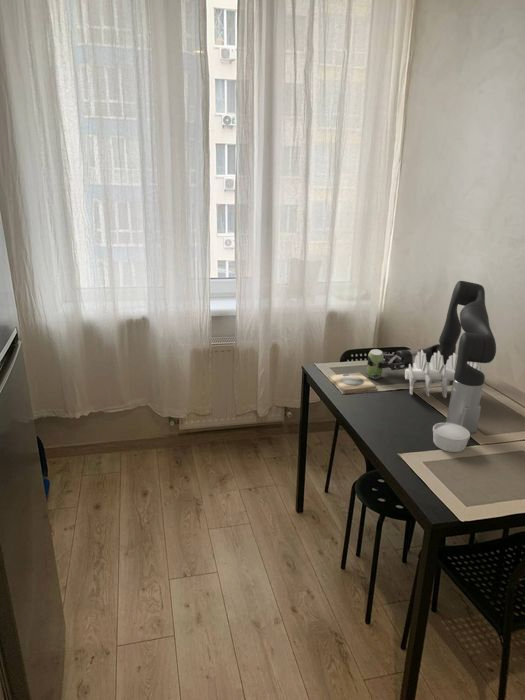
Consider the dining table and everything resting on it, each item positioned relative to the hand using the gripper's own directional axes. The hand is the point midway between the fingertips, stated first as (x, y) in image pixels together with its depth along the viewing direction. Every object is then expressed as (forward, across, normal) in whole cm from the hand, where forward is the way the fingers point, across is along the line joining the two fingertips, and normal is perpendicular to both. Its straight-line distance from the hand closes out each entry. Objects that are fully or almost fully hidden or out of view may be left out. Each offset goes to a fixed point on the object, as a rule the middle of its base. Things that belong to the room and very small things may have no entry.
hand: (373, 362), depth 208 cm
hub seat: (+11, +4, +7) cm, 14 cm away
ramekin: (+2, +54, +7) cm, 55 cm away
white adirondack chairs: (-16, +21, +7) cm, 27 cm away
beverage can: (-1, 0, +7) cm, 7 cm away
